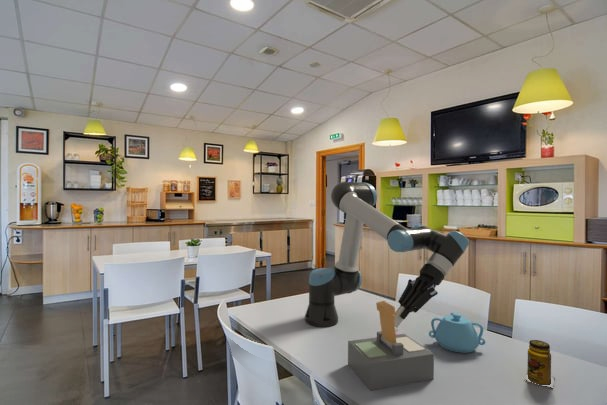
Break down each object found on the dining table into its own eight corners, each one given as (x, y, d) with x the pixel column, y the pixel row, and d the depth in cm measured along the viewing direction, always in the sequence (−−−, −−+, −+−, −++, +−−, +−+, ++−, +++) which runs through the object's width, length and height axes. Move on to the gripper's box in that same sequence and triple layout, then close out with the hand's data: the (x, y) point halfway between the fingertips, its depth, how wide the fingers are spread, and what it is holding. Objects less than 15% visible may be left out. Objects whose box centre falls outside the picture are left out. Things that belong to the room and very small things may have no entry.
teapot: (428, 351, 124) (429, 317, 124) (428, 331, 143) (428, 301, 143) (488, 360, 118) (489, 325, 117) (480, 338, 136) (480, 307, 136)
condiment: (524, 381, 105) (524, 343, 104) (527, 370, 111) (528, 334, 111) (553, 390, 100) (554, 350, 100) (555, 378, 106) (555, 341, 106)
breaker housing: (403, 355, 121) (404, 325, 120) (433, 379, 105) (434, 344, 105) (347, 364, 114) (348, 332, 114) (370, 390, 99) (371, 353, 99)
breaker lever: (387, 340, 113) (383, 300, 112) (399, 349, 107) (394, 307, 106) (380, 342, 112) (375, 302, 112) (391, 352, 106) (387, 309, 105)
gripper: (455, 281, 109) (412, 339, 104) (429, 273, 121) (389, 324, 116) (442, 266, 107) (397, 324, 102) (416, 259, 120) (375, 311, 115)
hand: (393, 324), depth 109 cm, fingers closed
